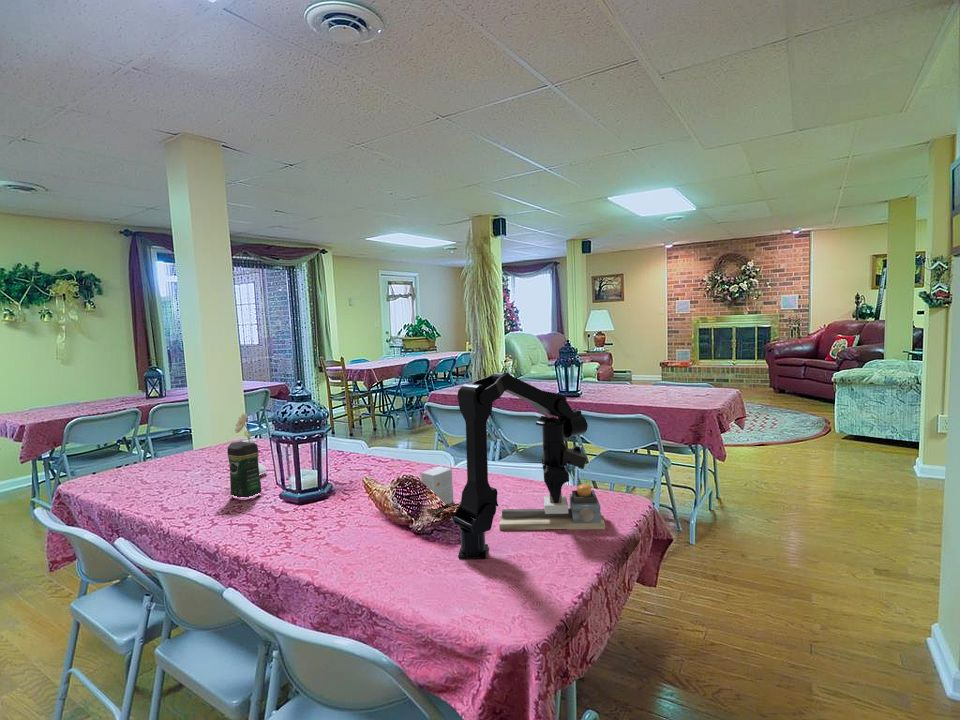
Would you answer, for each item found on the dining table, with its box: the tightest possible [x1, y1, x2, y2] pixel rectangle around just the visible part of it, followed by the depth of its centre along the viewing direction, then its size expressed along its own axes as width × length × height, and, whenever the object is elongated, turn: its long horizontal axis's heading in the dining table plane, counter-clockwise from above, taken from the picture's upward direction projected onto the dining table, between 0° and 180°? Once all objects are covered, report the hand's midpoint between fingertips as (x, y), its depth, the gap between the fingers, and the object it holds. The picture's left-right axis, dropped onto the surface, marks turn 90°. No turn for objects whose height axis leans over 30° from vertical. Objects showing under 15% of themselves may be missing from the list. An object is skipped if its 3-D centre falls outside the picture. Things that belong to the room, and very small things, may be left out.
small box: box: [420, 465, 454, 505], centre depth 150 cm, size 8×6×10 cm
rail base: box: [499, 489, 606, 531], centre depth 134 cm, size 10×27×8 cm, turn 85°
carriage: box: [543, 491, 569, 514], centre depth 133 cm, size 7×6×6 cm
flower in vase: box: [234, 412, 268, 474], centre depth 188 cm, size 13×11×25 cm
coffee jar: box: [227, 440, 262, 497], centre depth 165 cm, size 10×8×19 cm
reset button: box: [576, 483, 592, 497], centre depth 132 cm, size 4×4×2 cm
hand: (555, 498), depth 133 cm, fingers open, 7 cm apart
